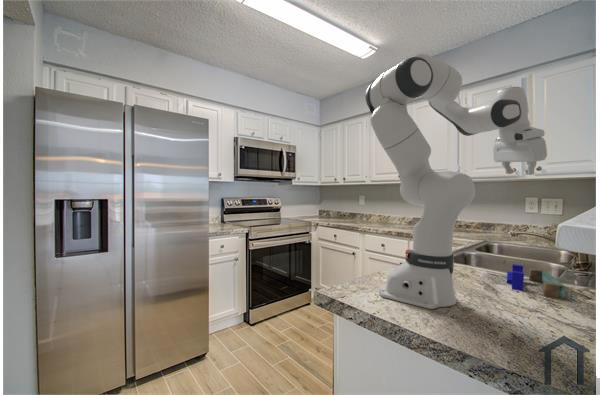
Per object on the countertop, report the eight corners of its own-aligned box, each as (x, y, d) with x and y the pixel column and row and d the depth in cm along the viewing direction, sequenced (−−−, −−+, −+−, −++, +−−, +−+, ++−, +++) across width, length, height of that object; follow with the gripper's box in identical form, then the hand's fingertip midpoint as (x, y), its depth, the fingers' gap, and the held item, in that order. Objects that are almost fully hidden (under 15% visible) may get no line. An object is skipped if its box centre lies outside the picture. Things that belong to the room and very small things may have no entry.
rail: (544, 296, 90) (545, 283, 90) (529, 279, 106) (529, 268, 106) (564, 299, 88) (565, 286, 88) (545, 281, 104) (545, 270, 104)
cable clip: (507, 279, 107) (507, 263, 107) (522, 281, 104) (522, 265, 104) (506, 288, 98) (507, 271, 97) (523, 291, 95) (523, 273, 95)
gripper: (486, 139, 110) (490, 174, 111) (529, 134, 89) (533, 177, 91) (502, 136, 110) (506, 171, 111) (549, 129, 89) (553, 173, 91)
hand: (519, 174), depth 101 cm, fingers open, 8 cm apart
